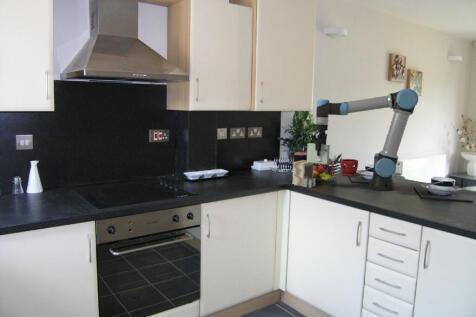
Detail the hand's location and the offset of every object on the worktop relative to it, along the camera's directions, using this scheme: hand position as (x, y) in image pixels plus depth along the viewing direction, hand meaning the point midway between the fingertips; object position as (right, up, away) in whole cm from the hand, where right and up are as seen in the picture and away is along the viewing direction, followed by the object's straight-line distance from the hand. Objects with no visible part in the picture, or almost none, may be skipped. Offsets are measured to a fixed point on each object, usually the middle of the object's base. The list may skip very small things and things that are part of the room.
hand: (319, 160), depth 252 cm
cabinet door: (-1, -1, +1) cm, 2 cm away
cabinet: (-9, -16, +14) cm, 23 cm away
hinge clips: (-5, -17, +6) cm, 19 cm away
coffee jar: (-6, -13, +37) cm, 40 cm away
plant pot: (+33, -12, +51) cm, 61 cm away
